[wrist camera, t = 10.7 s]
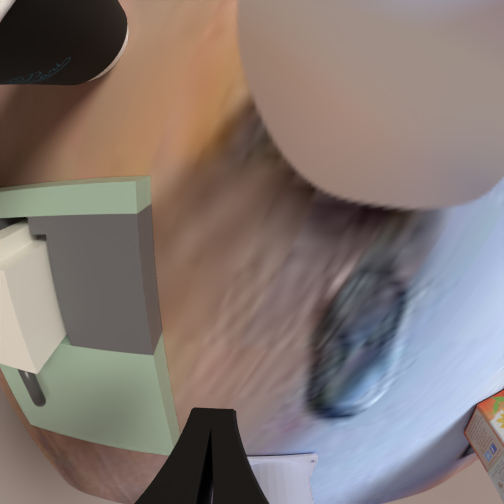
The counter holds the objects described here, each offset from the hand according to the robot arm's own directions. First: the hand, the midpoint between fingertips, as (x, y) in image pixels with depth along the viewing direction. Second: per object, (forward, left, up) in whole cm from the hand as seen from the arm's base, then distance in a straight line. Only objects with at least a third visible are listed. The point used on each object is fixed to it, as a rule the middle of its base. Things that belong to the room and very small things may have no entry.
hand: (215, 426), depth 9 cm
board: (-3, +11, -9) cm, 15 cm away
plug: (-1, +12, -9) cm, 15 cm away
